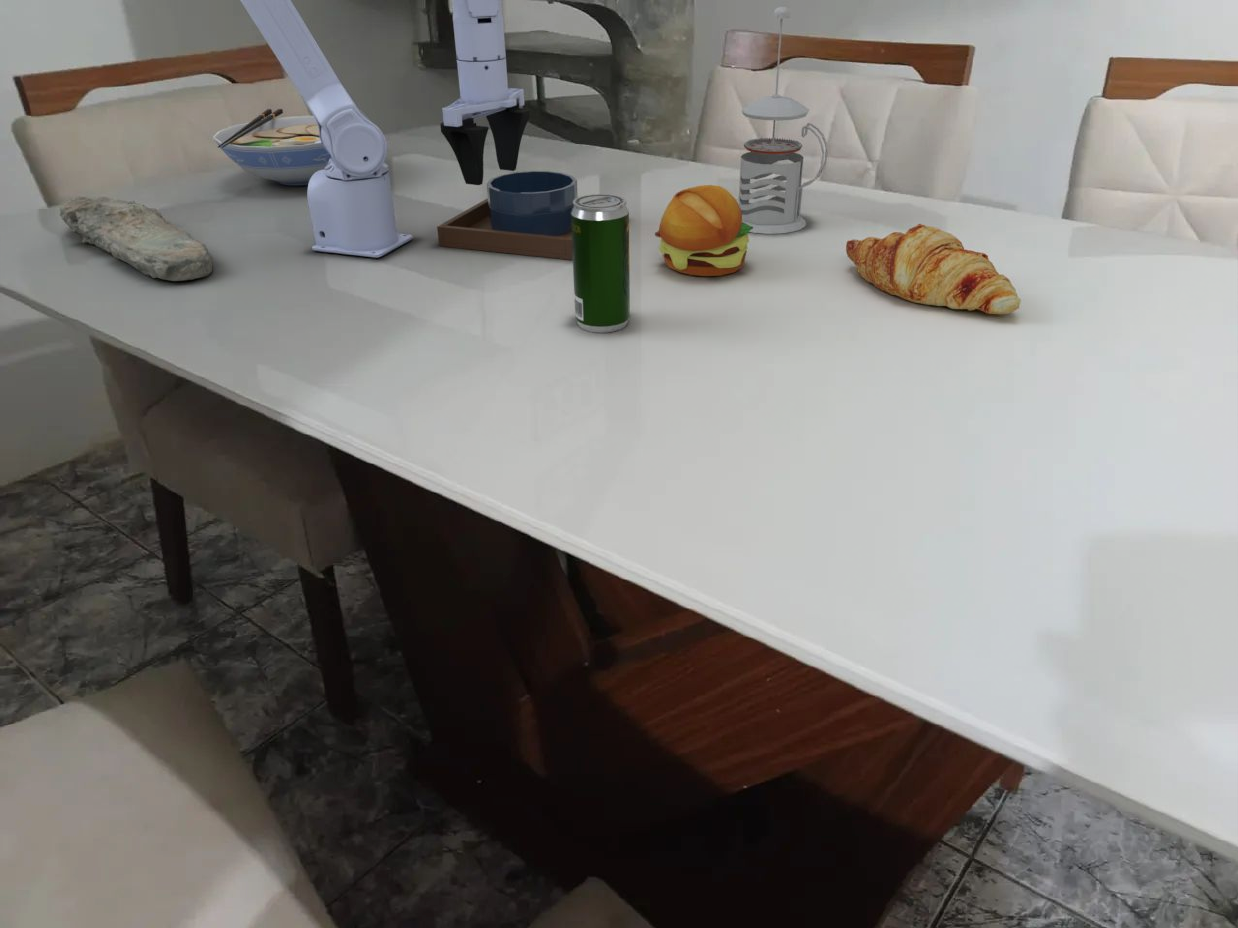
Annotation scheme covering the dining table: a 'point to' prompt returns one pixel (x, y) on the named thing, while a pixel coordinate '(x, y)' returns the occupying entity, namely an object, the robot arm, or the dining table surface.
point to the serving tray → (499, 236)
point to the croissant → (933, 271)
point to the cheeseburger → (703, 232)
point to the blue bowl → (532, 202)
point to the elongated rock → (138, 237)
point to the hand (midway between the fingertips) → (491, 176)
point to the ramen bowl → (276, 147)
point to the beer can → (601, 262)
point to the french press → (756, 164)
